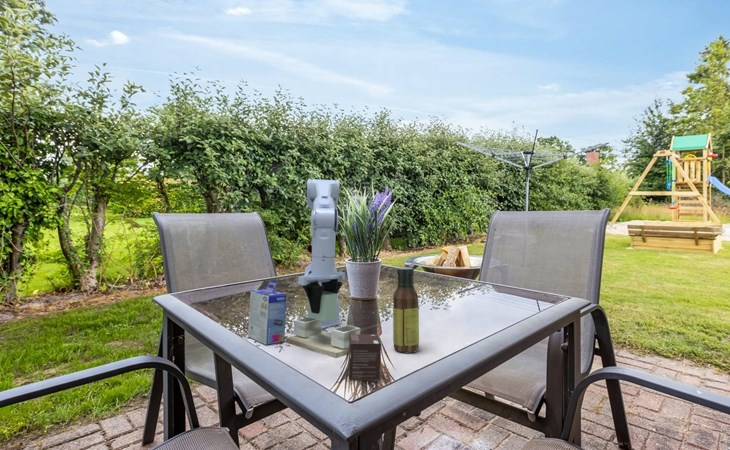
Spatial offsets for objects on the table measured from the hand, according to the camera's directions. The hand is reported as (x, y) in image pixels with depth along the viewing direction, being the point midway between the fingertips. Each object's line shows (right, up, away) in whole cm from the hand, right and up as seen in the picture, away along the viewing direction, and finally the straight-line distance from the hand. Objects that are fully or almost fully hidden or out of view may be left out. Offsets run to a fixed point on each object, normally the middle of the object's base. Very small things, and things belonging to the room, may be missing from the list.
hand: (321, 311), depth 94 cm
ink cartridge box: (-15, -8, +4) cm, 17 cm away
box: (+10, -9, -18) cm, 23 cm away
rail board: (+1, -8, +1) cm, 8 cm away
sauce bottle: (+20, -9, -2) cm, 22 cm away
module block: (0, -2, 0) cm, 2 cm away
